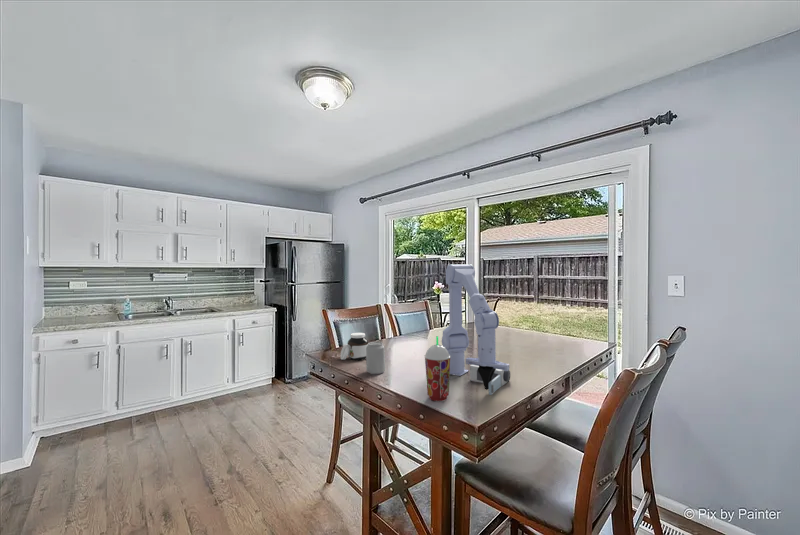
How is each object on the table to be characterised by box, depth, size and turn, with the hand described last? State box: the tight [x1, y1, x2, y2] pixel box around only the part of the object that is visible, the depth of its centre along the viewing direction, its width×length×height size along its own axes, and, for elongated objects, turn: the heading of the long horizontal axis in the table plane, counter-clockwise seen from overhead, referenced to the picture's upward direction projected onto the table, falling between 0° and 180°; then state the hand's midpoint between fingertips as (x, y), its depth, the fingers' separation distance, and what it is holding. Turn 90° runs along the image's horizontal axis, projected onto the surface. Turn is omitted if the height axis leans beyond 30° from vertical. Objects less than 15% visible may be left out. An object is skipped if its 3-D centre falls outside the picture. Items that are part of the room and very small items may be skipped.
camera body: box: [469, 364, 511, 388], centre depth 127 cm, size 13×8×6 cm, turn 54°
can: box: [365, 341, 386, 375], centre depth 139 cm, size 8×8×12 cm
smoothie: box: [424, 335, 451, 402], centre depth 110 cm, size 8×8×20 cm
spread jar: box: [340, 332, 369, 361], centre depth 160 cm, size 12×11×12 cm
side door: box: [488, 374, 503, 396], centre depth 116 cm, size 11×2×4 cm, turn 145°
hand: (487, 388), depth 114 cm, fingers closed
